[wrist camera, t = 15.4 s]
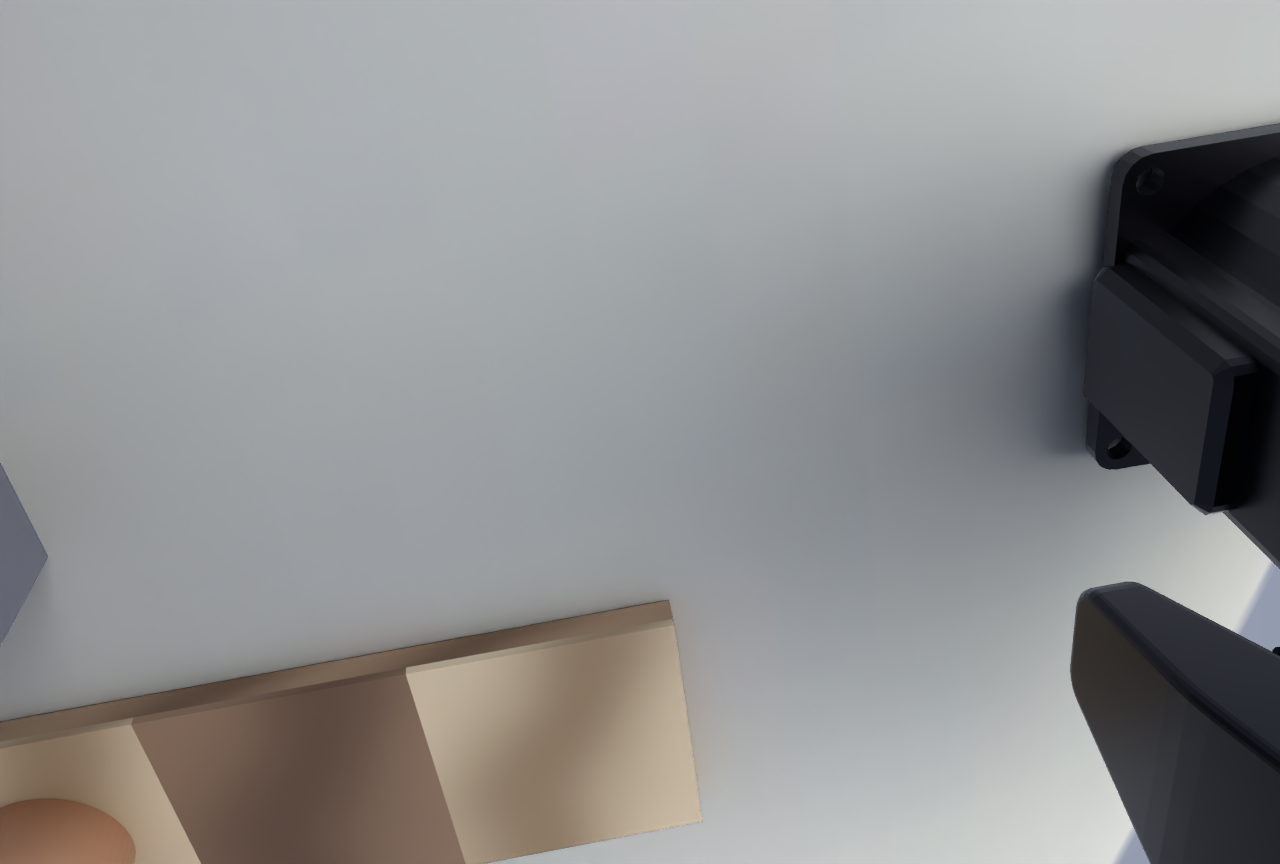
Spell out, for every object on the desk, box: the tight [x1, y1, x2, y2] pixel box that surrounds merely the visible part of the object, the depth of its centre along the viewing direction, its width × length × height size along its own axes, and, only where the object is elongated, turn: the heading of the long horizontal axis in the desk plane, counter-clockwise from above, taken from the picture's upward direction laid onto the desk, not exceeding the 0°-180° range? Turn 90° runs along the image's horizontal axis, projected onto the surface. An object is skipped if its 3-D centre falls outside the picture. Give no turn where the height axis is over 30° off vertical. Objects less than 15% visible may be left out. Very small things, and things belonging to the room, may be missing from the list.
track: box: [0, 600, 703, 864], centre depth 24 cm, size 22×6×1 cm, turn 97°
